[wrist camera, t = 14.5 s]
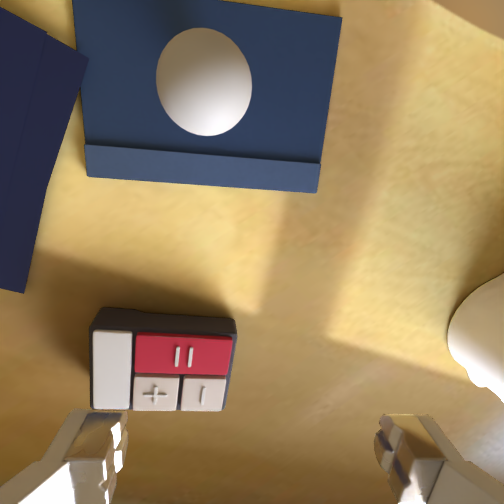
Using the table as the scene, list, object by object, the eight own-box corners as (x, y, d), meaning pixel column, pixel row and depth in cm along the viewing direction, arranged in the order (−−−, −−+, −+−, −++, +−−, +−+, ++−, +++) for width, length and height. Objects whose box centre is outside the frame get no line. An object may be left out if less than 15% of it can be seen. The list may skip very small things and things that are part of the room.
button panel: (225, 416, 36) (87, 415, 33) (223, 388, 40) (99, 385, 37) (238, 337, 32) (85, 329, 29) (235, 315, 36) (99, 306, 33)
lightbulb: (218, 46, 26) (215, -17, 16) (256, 112, 28) (276, 96, 18) (160, 88, 27) (121, 55, 16) (201, 150, 29) (190, 155, 18)
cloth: (340, 19, 26) (343, 15, 26) (314, 192, 31) (316, 193, 31) (72, -19, 24) (68, -24, 23) (90, 176, 29) (86, 177, 28)
